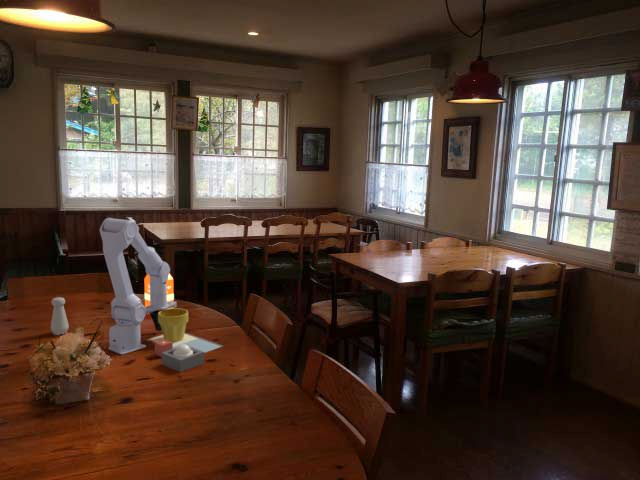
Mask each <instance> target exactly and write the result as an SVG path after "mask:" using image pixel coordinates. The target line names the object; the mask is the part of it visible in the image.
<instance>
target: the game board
mask: <svg viewBox="0 0 640 480" xmlns="http://www.w3.org/2000/svg"><path fill="white" fill-rule="evenodd" d="M162 340H164V336H163V334H162V335H161V334H160V335H159V336H154V337H151V338H149V339H146V341H147V342H150V343H153V344H155V342H158V341H162ZM182 344H185V345H188V346H190V347H192V348H195V349H198V350H201V351H203V352H204V354H206V353H208V352H211V351H214V350H217V349H220V348H222V347H224V345H222V344H219V343H217V342H214V341H211V340H209V339H205V338H202V337H199V336H197V335H194V334H192V333H191V334H190V333H188V332H185V333H184V338H183V339H182V340H180V341H176V342H173V349H174V348H177V347H178V346H179V345H182Z"/></svg>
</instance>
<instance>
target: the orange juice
mask: <svg viewBox="0 0 640 480" xmlns="http://www.w3.org/2000/svg"><path fill="white" fill-rule="evenodd" d="M143 280H144V307H147V306H149V305H150V276H149V275H148V274H146V275H145V277H144V279H143ZM174 300H175V294H174V278H173V276H172V275H171V272H169V275H168V281H167V302H171V301H174ZM172 308H175V307H172ZM168 309H171V308H168Z"/></svg>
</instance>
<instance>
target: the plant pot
mask: <svg viewBox="0 0 640 480" xmlns="http://www.w3.org/2000/svg"><path fill="white" fill-rule="evenodd" d="M158 322H159V324H160V325H161V328H162V330H161V332H162V335H163V336H164V340H168V341H170V342H176V341H180V340H182V339H183V338H184V333H186V328H187V323H188V322H189V311H188V310H187V309H184V308H179V307H174V308H171V309H166V310H162V311H160V312H159V313H158Z"/></svg>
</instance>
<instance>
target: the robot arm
mask: <svg viewBox="0 0 640 480" xmlns="http://www.w3.org/2000/svg"><path fill="white" fill-rule="evenodd" d="M139 231H140V227H139V226H138V225H137V222H136V221H135V220H132V219H120V218H113V217H107V218H105V219H104V220H103V222H102V223H101V225H100V228H99V234H100V237H101V240H102V251H103V255H104V259H105V263H106V267H107V270H108V273H109V278H110V281H111V284H112V288H113V292H114V295H115V298H113V299H112V300H111V301H110V305H111V317H112V319H113V320H114V321H115V323H116V324H114V325H113V326H111V327H110V328H109V331H108V338H109V339H108V340H109V342H108V343H109V347H108V348H107V349H108V350H110V351H112V352H114V353H116V354H119V355H121V356H122V355H126V354H128V353H132V352H136V351H138V350H141V349H145V348H147V345H146V344H143V343H141V342H142V340H141V338H142V336H141V323H142V322H143V320H144V319H145V317H146V315H148V314H149V315H148V316H150V318H151V320H152V322H153V324H154V328H155V331H156V332H157V331H158V332H162V328H161V325H160V324H159V322H158V313H159V312H160V311H162V310H166V309H168V308H172V307H174V308H178V305H177V301H171V302H167V281H168V275H169V273H171V267H170V265H169V264H168V262H166V261H163V260H162V258H161V257H160V255H159V254H158V253H157V252H156V249H155V247H152V246H148V245H147V243H146V241H145V240H144V238H143V237H142V235H141V233H139ZM129 246H131V247H133V248H134V249H135V250H136V252H137V258H138V259H139V261H140V262H141V263H142V264H143V265H144V268H145V273H146V275H147V274H148V275H149V276H150V305H149V306H147V307H145V304H143V303H142V299H140V297H138V296H137V295H136V294H135V293H134V290H133V286H132V283H131V279H130V274H129V271H128V268H127V264H126V260H125V256H124V250H126V249H127V248H128V247H129Z"/></svg>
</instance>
